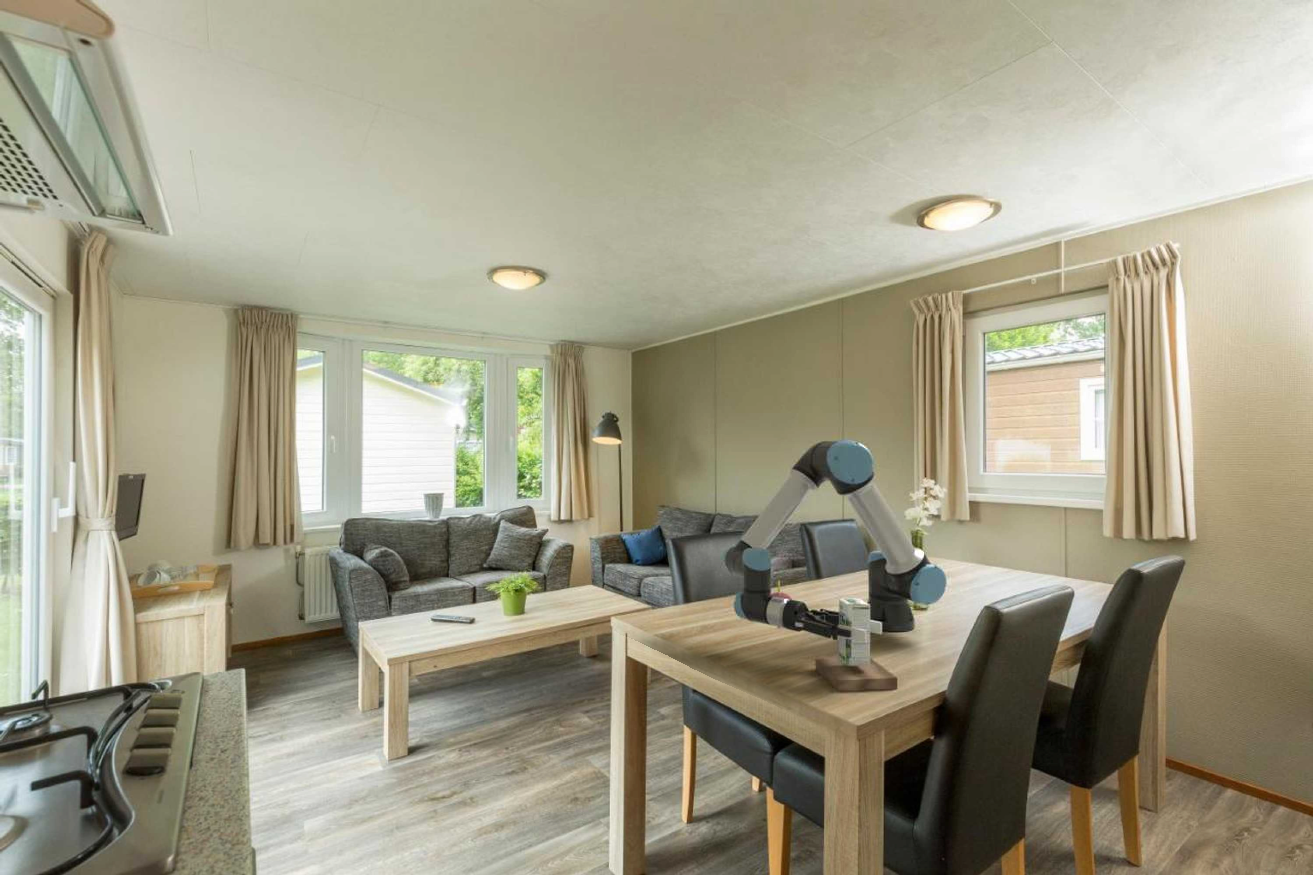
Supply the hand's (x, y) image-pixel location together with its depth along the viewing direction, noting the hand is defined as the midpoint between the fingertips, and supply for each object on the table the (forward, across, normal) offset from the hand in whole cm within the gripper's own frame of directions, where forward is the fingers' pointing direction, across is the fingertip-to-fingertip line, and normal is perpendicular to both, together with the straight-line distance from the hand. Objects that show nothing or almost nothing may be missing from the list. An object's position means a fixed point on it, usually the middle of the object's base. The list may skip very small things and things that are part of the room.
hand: (873, 632), depth 141 cm
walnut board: (-5, 0, -12) cm, 13 cm away
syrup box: (-5, 0, -8) cm, 9 cm away
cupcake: (-48, -37, -12) cm, 62 cm away
